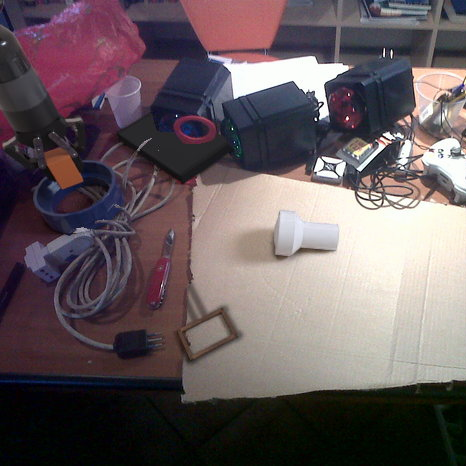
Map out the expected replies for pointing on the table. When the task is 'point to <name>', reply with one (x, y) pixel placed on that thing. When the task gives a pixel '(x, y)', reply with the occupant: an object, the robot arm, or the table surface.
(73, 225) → the blue plastic ring
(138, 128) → the external hard drive
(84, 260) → the table surface
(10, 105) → the robot arm
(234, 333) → the wooden frame tray
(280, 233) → the spotlight
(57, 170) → the block
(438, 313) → the table surface
